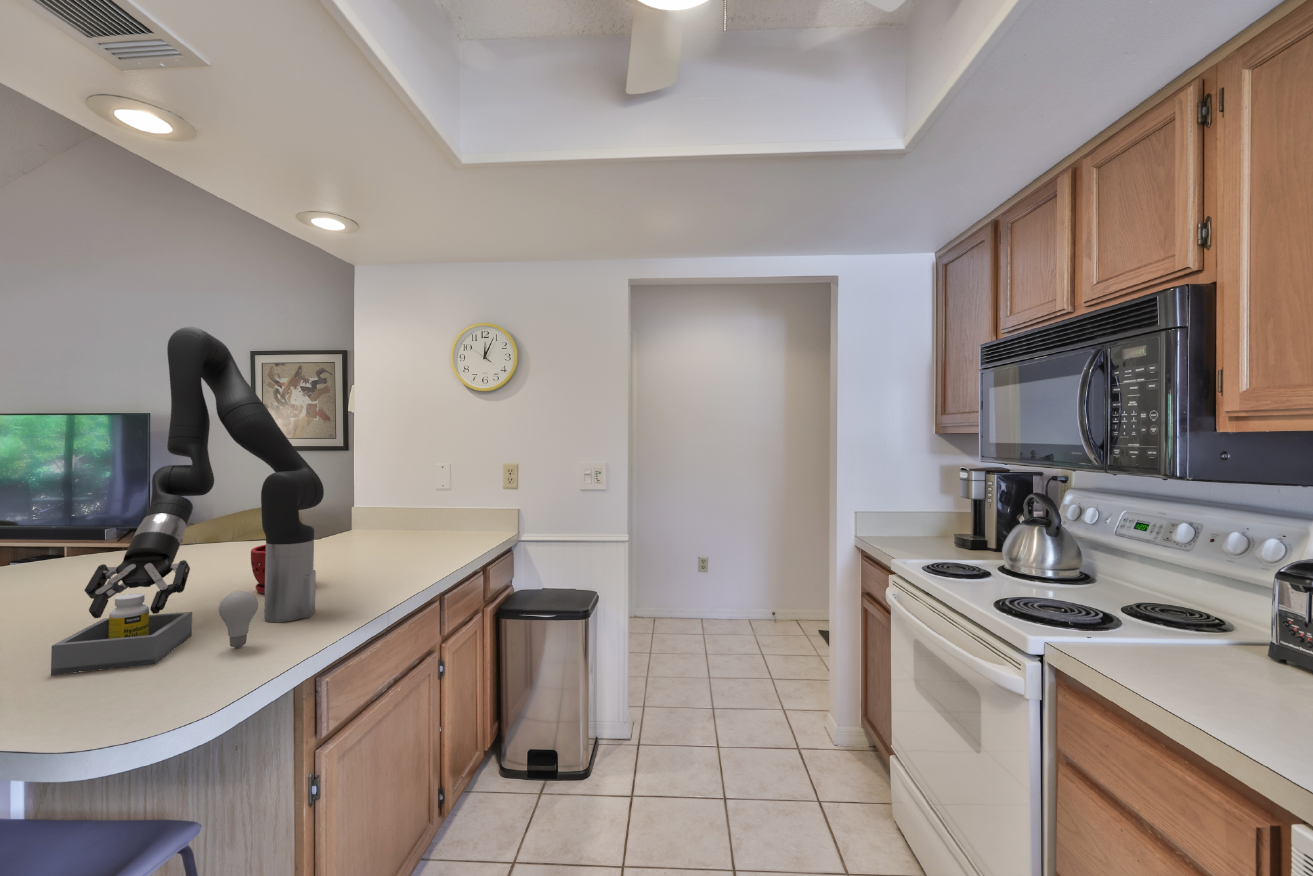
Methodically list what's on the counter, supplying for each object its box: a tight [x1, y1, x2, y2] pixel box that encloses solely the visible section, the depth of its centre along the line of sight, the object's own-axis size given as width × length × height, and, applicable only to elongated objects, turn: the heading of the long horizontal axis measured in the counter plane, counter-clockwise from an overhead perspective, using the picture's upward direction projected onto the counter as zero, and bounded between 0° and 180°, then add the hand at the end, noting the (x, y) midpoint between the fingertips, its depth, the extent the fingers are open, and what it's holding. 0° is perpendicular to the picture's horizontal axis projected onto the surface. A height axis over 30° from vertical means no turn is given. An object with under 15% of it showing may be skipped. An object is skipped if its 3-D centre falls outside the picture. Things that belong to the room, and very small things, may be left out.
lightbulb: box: [218, 590, 259, 649], centre depth 106 cm, size 6×6×11 cm
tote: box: [50, 611, 193, 676], centre depth 102 cm, size 14×15×5 cm
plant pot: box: [250, 544, 266, 594], centre depth 147 cm, size 13×13×12 cm
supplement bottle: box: [108, 592, 150, 639], centre depth 102 cm, size 5×5×10 cm
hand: (125, 613), depth 101 cm, fingers open, 8 cm apart
